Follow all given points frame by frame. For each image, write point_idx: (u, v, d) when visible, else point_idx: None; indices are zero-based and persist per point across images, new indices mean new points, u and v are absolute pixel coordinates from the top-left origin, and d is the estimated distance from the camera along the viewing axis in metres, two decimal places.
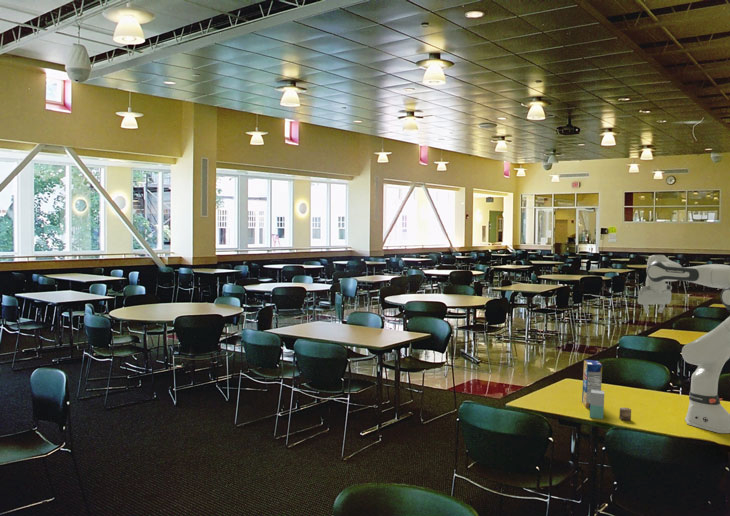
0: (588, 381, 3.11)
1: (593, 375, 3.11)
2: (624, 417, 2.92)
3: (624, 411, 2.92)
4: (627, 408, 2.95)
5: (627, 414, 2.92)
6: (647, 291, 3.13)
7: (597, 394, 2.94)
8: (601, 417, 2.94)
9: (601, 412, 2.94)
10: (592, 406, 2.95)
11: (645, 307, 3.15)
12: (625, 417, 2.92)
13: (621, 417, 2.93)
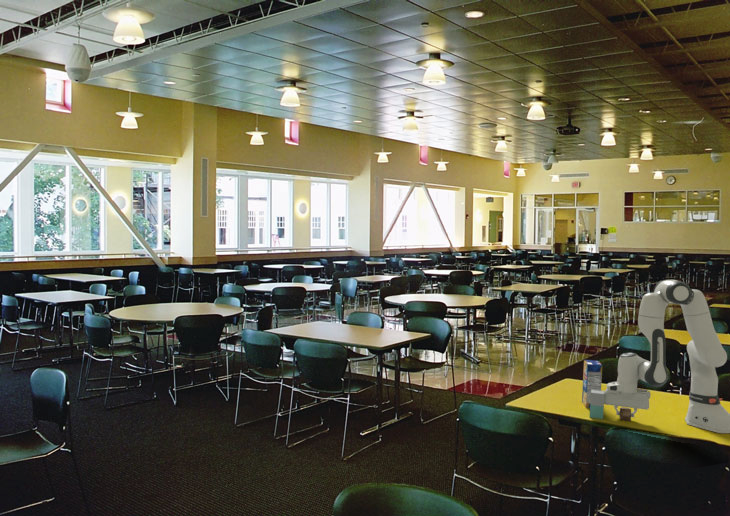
0: (588, 381, 3.12)
1: (592, 375, 3.11)
2: (624, 416, 2.92)
3: (624, 411, 2.92)
4: (627, 408, 2.95)
5: (627, 414, 2.92)
6: None
7: (597, 394, 2.94)
8: (601, 417, 2.94)
9: (601, 412, 2.94)
10: (592, 406, 2.95)
11: None
12: (625, 417, 2.92)
13: (621, 417, 2.93)
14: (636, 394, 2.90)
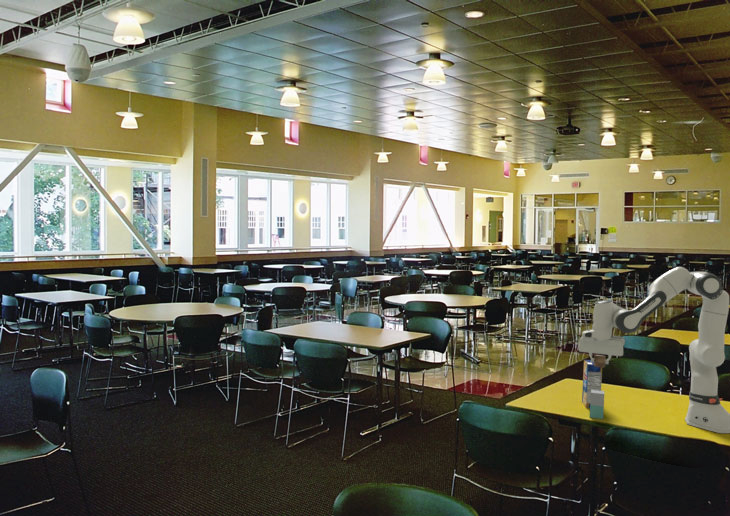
0: (588, 381, 3.11)
1: (593, 375, 3.11)
2: (598, 363, 2.94)
3: (598, 358, 2.94)
4: (602, 355, 2.97)
5: (601, 360, 2.93)
6: None
7: (597, 394, 2.94)
8: (601, 417, 2.94)
9: (601, 412, 2.94)
10: (592, 406, 2.95)
11: (610, 357, 2.94)
12: (599, 363, 2.94)
13: (596, 363, 2.95)
14: (610, 341, 2.92)
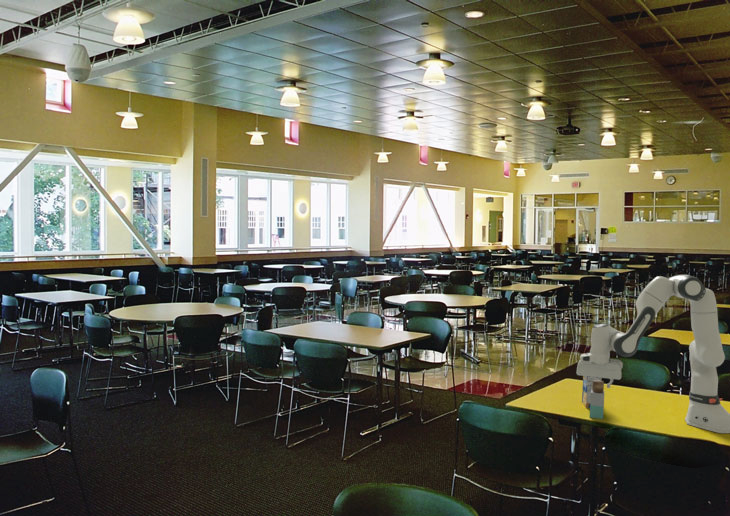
0: None
1: None
2: (596, 389, 2.95)
3: (597, 383, 2.95)
4: (600, 381, 2.98)
5: (599, 386, 2.94)
6: None
7: (597, 394, 2.94)
8: (601, 417, 2.94)
9: (601, 412, 2.94)
10: (592, 406, 2.95)
11: (612, 381, 2.95)
12: (598, 389, 2.94)
13: (594, 389, 2.96)
14: (608, 365, 2.93)
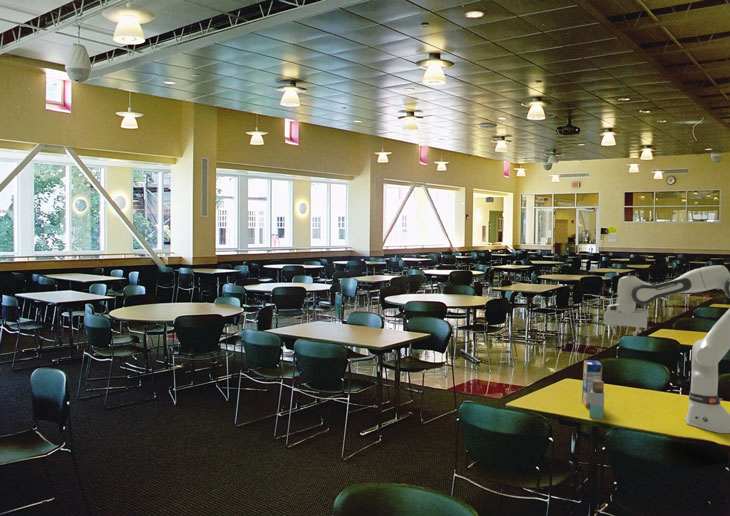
0: (588, 381, 3.11)
1: (592, 375, 3.11)
2: (596, 389, 2.95)
3: (597, 383, 2.95)
4: (600, 381, 2.98)
5: (599, 386, 2.94)
6: None
7: (597, 394, 2.94)
8: (601, 417, 2.94)
9: (601, 412, 2.94)
10: (592, 406, 2.95)
11: (638, 329, 3.11)
12: (598, 389, 2.95)
13: (594, 389, 2.96)
14: (635, 314, 3.09)
